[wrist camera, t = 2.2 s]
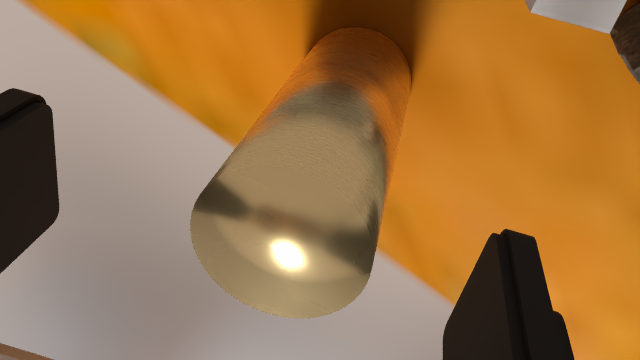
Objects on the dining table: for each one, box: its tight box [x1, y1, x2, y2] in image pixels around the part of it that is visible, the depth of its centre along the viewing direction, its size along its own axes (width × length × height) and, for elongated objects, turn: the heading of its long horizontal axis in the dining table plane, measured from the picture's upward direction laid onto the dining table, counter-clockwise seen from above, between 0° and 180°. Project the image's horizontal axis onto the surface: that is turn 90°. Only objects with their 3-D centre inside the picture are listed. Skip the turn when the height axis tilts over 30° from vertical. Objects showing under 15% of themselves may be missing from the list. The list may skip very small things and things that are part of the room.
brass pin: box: [190, 27, 411, 318], centre depth 14 cm, size 4×4×9 cm
